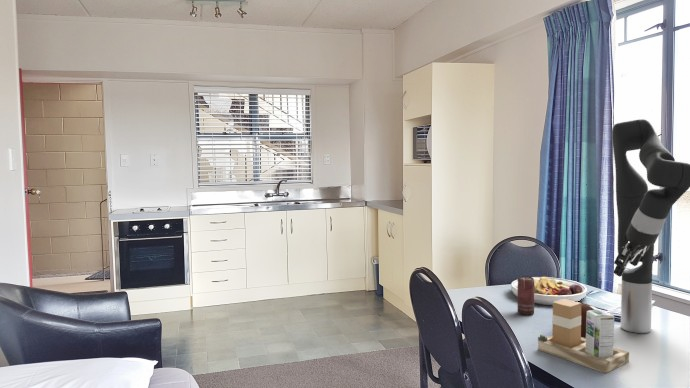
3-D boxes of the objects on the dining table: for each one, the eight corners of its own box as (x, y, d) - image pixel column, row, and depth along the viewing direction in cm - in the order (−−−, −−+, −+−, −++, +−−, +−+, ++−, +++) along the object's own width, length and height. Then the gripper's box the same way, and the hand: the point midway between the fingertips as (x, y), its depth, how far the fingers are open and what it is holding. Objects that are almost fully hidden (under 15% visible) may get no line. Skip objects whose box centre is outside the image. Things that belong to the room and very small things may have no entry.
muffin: (603, 332, 180) (604, 304, 179) (590, 341, 172) (591, 311, 172) (568, 324, 189) (569, 297, 188) (555, 332, 181) (555, 304, 180)
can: (517, 315, 200) (517, 279, 199) (518, 310, 206) (518, 275, 205) (533, 316, 198) (534, 280, 197) (534, 311, 204) (534, 276, 202)
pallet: (561, 340, 174) (561, 326, 174) (628, 361, 156) (629, 346, 155) (537, 349, 167) (537, 335, 166) (605, 373, 149) (605, 357, 148)
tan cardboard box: (563, 343, 170) (563, 298, 168) (580, 349, 165) (581, 303, 163) (552, 348, 166) (552, 302, 165) (569, 354, 161) (570, 306, 160)
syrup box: (584, 356, 159) (585, 310, 158) (602, 355, 160) (603, 309, 159) (595, 364, 154) (596, 316, 152) (614, 362, 154) (615, 315, 153)
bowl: (497, 297, 224) (497, 279, 224) (532, 284, 244) (532, 267, 244) (566, 313, 202) (566, 293, 201) (598, 296, 222) (599, 278, 221)
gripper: (646, 210, 150) (625, 254, 159) (619, 226, 143) (600, 270, 152) (672, 224, 145) (649, 268, 154) (646, 240, 138) (624, 286, 147)
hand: (625, 269), depth 153 cm, fingers open, 8 cm apart
